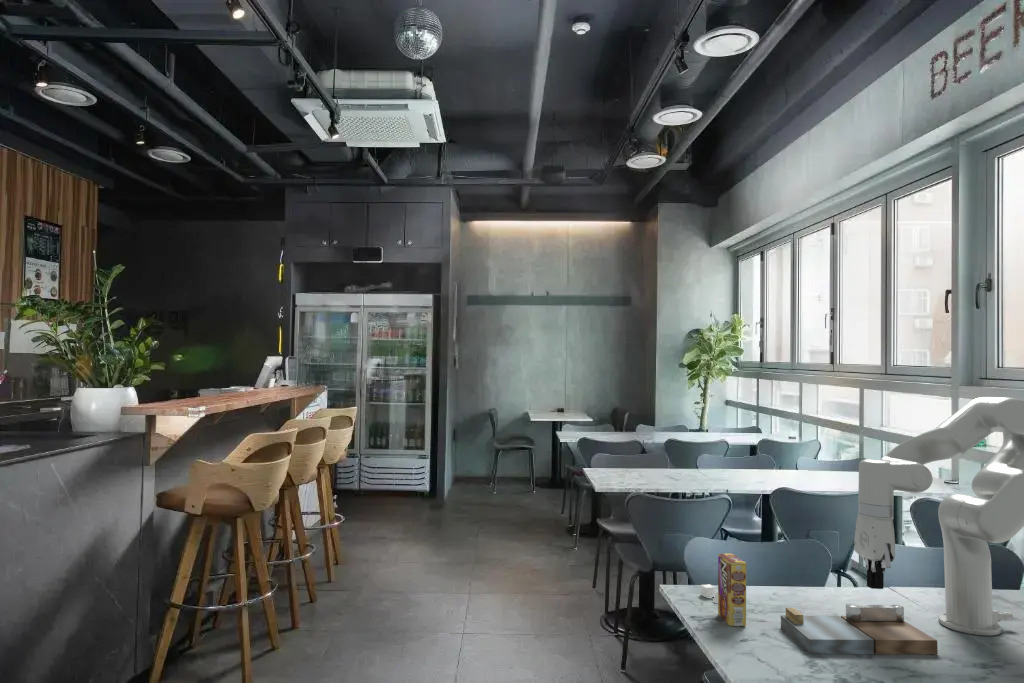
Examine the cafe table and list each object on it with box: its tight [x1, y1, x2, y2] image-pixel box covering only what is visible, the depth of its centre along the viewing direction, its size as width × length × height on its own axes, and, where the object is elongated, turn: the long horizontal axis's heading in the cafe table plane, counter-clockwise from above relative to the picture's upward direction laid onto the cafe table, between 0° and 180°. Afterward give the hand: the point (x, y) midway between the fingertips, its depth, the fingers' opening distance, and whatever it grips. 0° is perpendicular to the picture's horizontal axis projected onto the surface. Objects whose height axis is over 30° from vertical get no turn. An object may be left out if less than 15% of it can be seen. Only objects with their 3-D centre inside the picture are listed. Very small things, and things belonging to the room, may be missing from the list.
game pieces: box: [699, 583, 718, 602], centre depth 177 cm, size 12×3×3 cm, turn 17°
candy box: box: [717, 553, 747, 627], centre depth 164 cm, size 9×4×15 cm, turn 2°
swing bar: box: [845, 603, 905, 622], centre depth 156 cm, size 13×3×3 cm, turn 91°
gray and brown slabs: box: [780, 607, 939, 655], centre depth 151 cm, size 28×15×5 cm, turn 91°
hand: (875, 587), depth 160 cm, fingers closed
